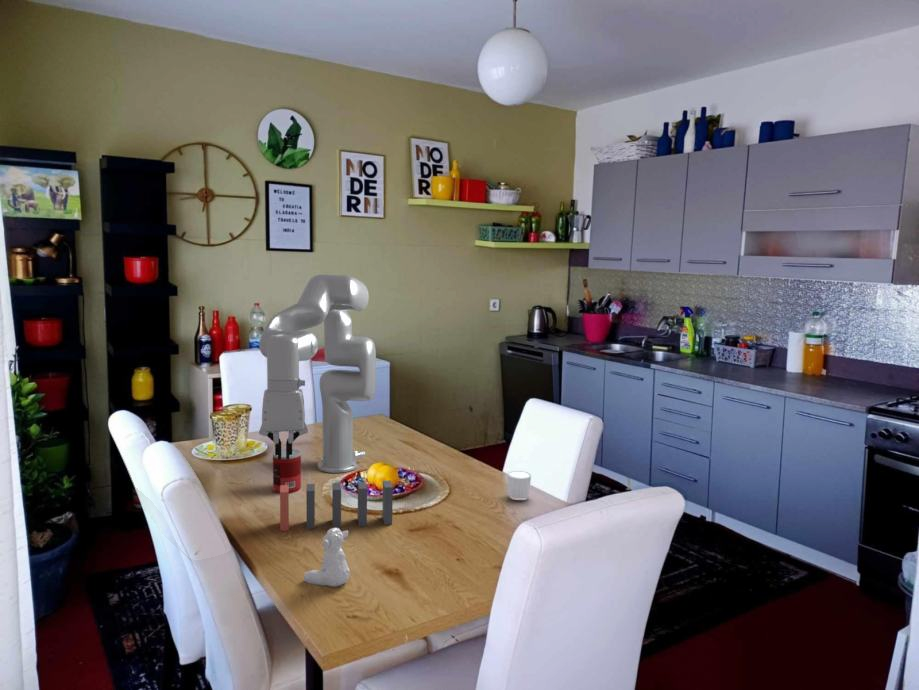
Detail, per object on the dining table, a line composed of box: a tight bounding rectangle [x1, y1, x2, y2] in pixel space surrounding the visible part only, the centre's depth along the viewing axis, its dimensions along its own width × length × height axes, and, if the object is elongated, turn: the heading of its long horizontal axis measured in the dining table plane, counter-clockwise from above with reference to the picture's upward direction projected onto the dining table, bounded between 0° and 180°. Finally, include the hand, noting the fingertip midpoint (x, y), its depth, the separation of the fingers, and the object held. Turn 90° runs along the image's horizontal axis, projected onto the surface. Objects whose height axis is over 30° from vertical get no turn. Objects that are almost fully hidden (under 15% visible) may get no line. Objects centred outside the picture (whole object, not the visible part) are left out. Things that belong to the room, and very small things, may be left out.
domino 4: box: [382, 480, 394, 526], centre depth 174 cm, size 2×5×10 cm, turn 12°
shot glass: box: [507, 470, 532, 498], centre depth 193 cm, size 7×7×7 cm
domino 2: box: [331, 482, 342, 529], centre depth 171 cm, size 2×5×10 cm, turn 12°
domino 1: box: [305, 483, 316, 530], centre depth 170 cm, size 2×5×10 cm, turn 12°
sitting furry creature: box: [303, 527, 351, 588], centre depth 142 cm, size 10×9×12 cm
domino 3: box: [357, 481, 368, 527], centre depth 173 cm, size 2×5×10 cm, turn 12°
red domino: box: [279, 485, 290, 532], centre depth 168 cm, size 2×5×10 cm, turn 14°
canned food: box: [272, 448, 302, 494], centre depth 194 cm, size 8×8×11 cm
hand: (283, 457), depth 166 cm, fingers closed
